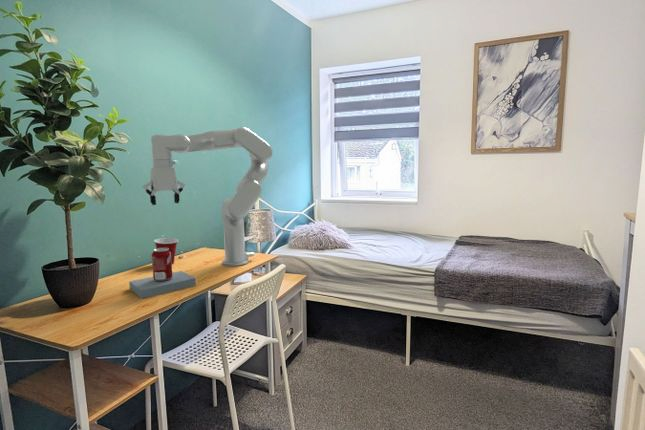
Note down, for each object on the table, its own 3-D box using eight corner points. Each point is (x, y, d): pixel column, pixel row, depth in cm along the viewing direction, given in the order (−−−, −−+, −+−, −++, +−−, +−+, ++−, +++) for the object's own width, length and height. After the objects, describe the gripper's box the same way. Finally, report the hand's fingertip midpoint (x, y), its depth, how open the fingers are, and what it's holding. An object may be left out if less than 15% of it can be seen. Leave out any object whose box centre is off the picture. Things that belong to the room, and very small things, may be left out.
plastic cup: (172, 267, 167) (170, 242, 166) (150, 266, 169) (148, 241, 167) (184, 261, 178) (182, 237, 176) (164, 260, 179) (162, 237, 178)
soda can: (165, 282, 135) (163, 251, 133) (149, 281, 136) (147, 251, 135) (176, 277, 142) (174, 247, 140) (160, 276, 143) (158, 246, 141)
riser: (181, 277, 151) (181, 270, 151) (196, 285, 141) (195, 278, 140) (129, 289, 138) (129, 281, 137) (141, 298, 127) (140, 290, 127)
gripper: (179, 164, 163) (181, 201, 165) (138, 164, 151) (141, 205, 153) (186, 164, 157) (188, 203, 160) (144, 164, 146) (147, 206, 148)
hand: (165, 203), depth 156 cm, fingers open, 9 cm apart
